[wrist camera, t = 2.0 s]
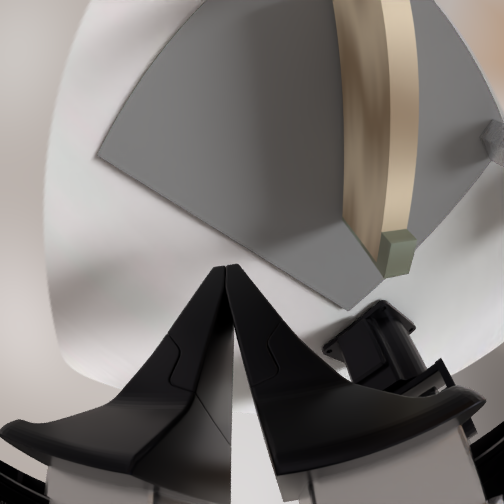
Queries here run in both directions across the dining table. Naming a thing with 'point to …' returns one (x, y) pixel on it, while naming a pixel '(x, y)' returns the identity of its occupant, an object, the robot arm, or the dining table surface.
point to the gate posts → (494, 141)
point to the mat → (292, 133)
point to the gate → (379, 127)
